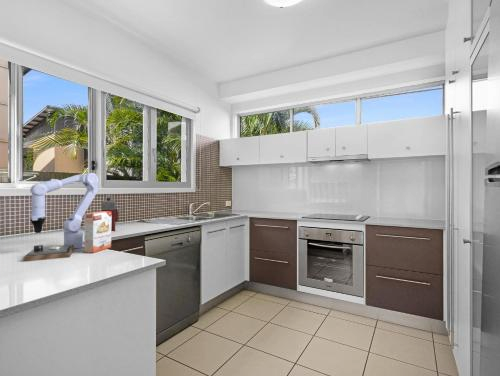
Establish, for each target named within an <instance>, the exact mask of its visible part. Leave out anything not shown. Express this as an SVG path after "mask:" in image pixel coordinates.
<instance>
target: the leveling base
mask: <svg viewBox="0 0 500 376" xmlns="http://www.w3.org/2000/svg"><path fill="white" fill-rule="evenodd" d="M33 250H34V249H32V250H31V251H33ZM74 250H75V248H74V245H72V246H71V247H70V248H69V250H68V251H67V252H64V253H54V254H43V255H33V256H29V253H30V252H31V251H29V252H28V253H27V254H26V255H24V256H23V262H30V261H31V262H33V261H43V260H54V259H55V260H56V259H65V258H70V257H71V256H72V254H73V252H74Z"/></svg>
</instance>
